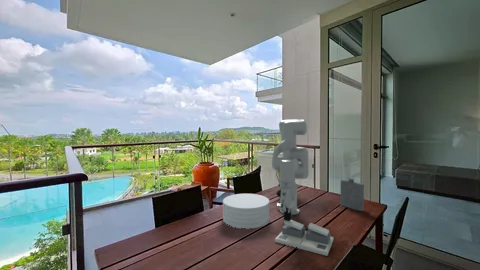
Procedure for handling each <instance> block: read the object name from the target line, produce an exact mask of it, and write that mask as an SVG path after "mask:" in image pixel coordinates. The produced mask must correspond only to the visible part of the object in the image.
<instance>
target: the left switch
mask: <svg viewBox="0 0 480 270" xmlns="http://www.w3.org/2000/svg"><path fill="white" fill-rule="evenodd" d="M283 224H284V225H285V224H287V225H289V226H292V227H294V228H296V229H299V230H302V229H303V227H305V224H303V223H301V222H299V221H295V220H293V219H291V220H290V221H287V220H284V221H283Z"/></svg>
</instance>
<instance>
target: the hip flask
mask: <svg viewBox="0 0 480 270" xmlns="http://www.w3.org/2000/svg"><path fill="white" fill-rule="evenodd" d="M364 187H365V183H361V182H360V183H359V182H355V178H351V177H349V178H348V179H347V180H346V179H341V180H340V198H339V199H340V201H339V202H340V206H342V207H345V208H347V209H352V210H354V211H360V212H364V205H365V204H364V203H365V201H364V197H365V195H364V194H365V191H364V189H365V188H364Z"/></svg>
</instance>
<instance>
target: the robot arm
mask: <svg viewBox="0 0 480 270" xmlns="http://www.w3.org/2000/svg"><path fill="white" fill-rule="evenodd" d="M278 127H279V133H280V134H281V140H280V141H281V142H280V143H279V144H278V145H277V146H276V147H275V148H274V150H273V151H272V159H271V167H272V169H273V171H274V172H277V171H280V190H281V197H280V199H279V201H280V202H276V207H277V208H279V212H280V213H281V214H283V220H284V221H285V220H287V221H290V220H292V216H295V215H298V214H300V209H299V208H298V185H297V182H296V179H297V180H298V179H299V180H300V179H302V180H304V179H307V178H308V177H309V172H310V171H309V168H310V167H309V151H308V148H306V147H305V146H304V147H303V146H297V136H305V135H307V130H308V125H307V122H306V120H305V119H284V120H280V121H279V122H278ZM281 153H282V156H283V157H279V156H280V154H281Z"/></svg>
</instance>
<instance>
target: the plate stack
mask: <svg viewBox="0 0 480 270" xmlns="http://www.w3.org/2000/svg"><path fill="white" fill-rule="evenodd" d="M222 221H223V223H224V222H225V223H226V224H225V223H224V224H225V225H227V224H228V225H227V226H229V225H230V226H229V227H231V226H232V227H231V228H235V227H236V229H241V228H246V229H247V230H250V228H252V229H256V228H257V229H258V228H261V227H265V226H266V225H268V223H269V222H270V198H268V197H266V196H264V195H261V194H256V193H236V194H230V195H228V196H225V197H224V198H223V200H222ZM246 229H245V230H246Z"/></svg>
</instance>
